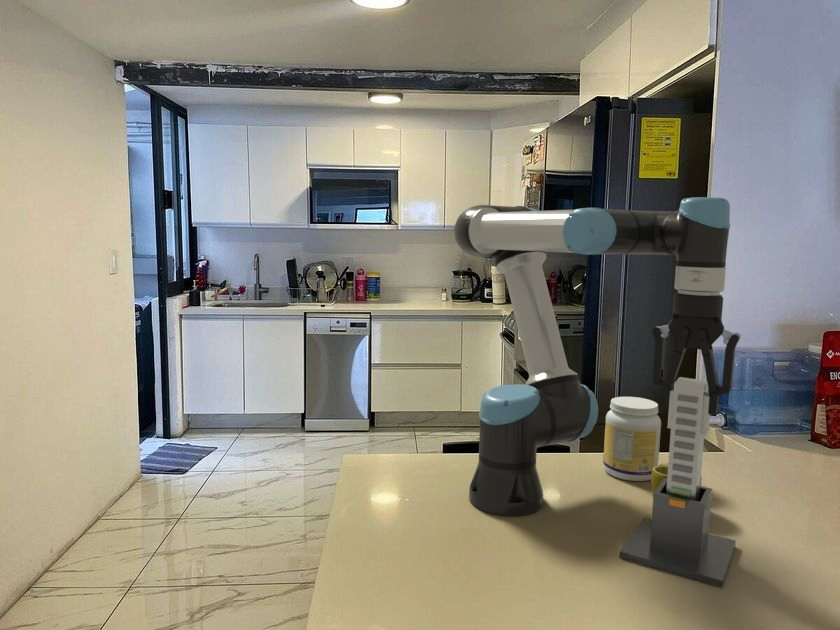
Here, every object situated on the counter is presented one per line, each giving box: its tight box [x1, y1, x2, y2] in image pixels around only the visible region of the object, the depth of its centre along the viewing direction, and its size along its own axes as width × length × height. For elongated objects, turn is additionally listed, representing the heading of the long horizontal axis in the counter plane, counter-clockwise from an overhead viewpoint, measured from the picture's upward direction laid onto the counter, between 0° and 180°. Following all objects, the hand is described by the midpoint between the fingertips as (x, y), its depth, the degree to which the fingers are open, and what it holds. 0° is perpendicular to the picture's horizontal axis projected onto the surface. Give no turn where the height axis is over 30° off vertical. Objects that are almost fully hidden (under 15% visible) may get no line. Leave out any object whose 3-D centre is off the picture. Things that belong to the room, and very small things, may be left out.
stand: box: [619, 478, 736, 589], centre depth 109 cm, size 16×16×11 cm
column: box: [666, 376, 709, 502], centre depth 107 cm, size 5×5×22 cm
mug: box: [650, 462, 703, 496], centre depth 128 cm, size 12×10×10 cm
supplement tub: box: [602, 396, 662, 482], centre depth 145 cm, size 12×12×17 cm
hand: (687, 429), depth 106 cm, fingers closed on column, 5 cm apart
